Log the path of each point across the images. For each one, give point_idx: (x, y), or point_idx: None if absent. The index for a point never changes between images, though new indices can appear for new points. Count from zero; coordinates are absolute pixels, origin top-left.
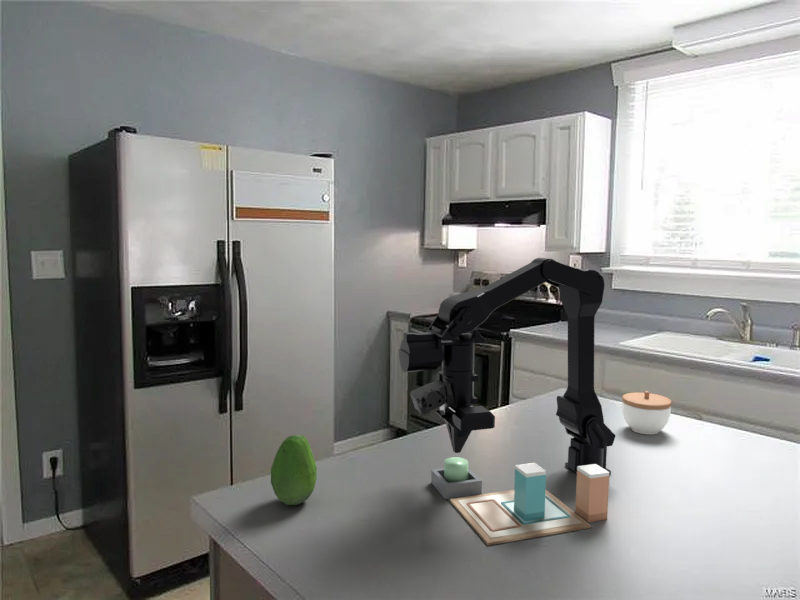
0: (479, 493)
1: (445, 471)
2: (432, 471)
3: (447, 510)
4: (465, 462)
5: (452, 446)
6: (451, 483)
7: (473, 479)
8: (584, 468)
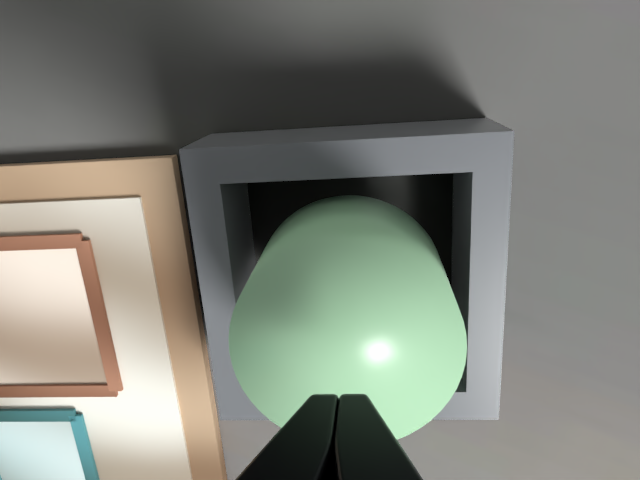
0: None
1: (330, 215)
2: (485, 132)
3: (58, 97)
4: None
5: (361, 423)
6: (204, 208)
7: None
8: None
